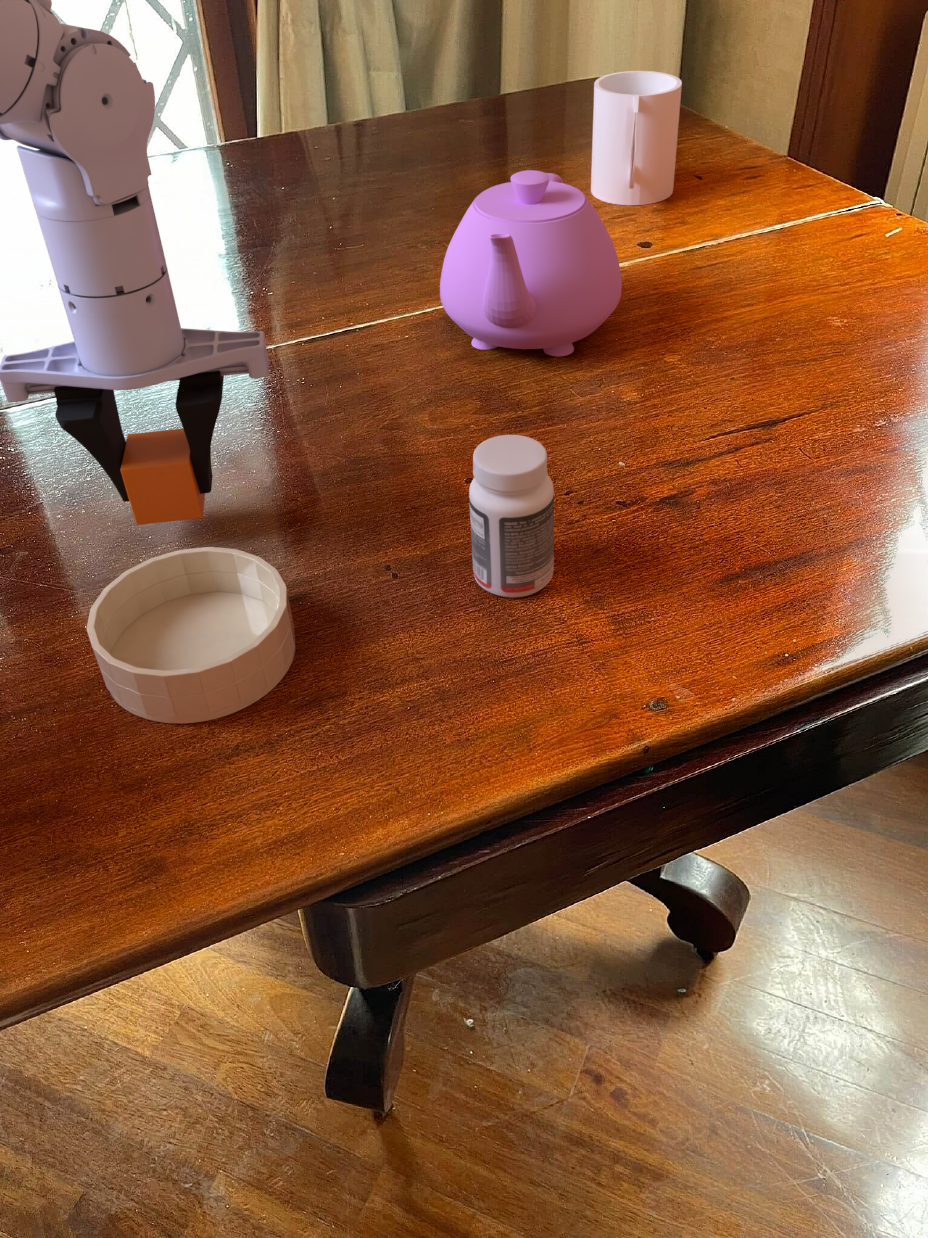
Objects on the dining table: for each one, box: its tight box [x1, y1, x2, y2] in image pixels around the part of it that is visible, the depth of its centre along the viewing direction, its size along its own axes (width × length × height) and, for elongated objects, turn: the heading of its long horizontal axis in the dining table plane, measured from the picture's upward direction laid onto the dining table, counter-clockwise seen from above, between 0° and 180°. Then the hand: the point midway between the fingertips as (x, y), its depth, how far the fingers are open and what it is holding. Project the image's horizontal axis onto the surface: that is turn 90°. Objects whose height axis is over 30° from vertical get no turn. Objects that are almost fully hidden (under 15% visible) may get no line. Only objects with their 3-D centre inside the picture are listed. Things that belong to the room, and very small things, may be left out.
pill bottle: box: [468, 434, 555, 599], centre depth 62 cm, size 5×5×8 cm
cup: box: [590, 70, 683, 206], centre depth 105 cm, size 8×12×10 cm
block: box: [120, 428, 206, 526], centre depth 66 cm, size 4×4×4 cm
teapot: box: [439, 169, 622, 357], centre depth 83 cm, size 20×14×12 cm
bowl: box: [86, 546, 297, 725], centre depth 59 cm, size 10×10×4 cm
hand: (169, 488), depth 67 cm, fingers closed on block, 4 cm apart
